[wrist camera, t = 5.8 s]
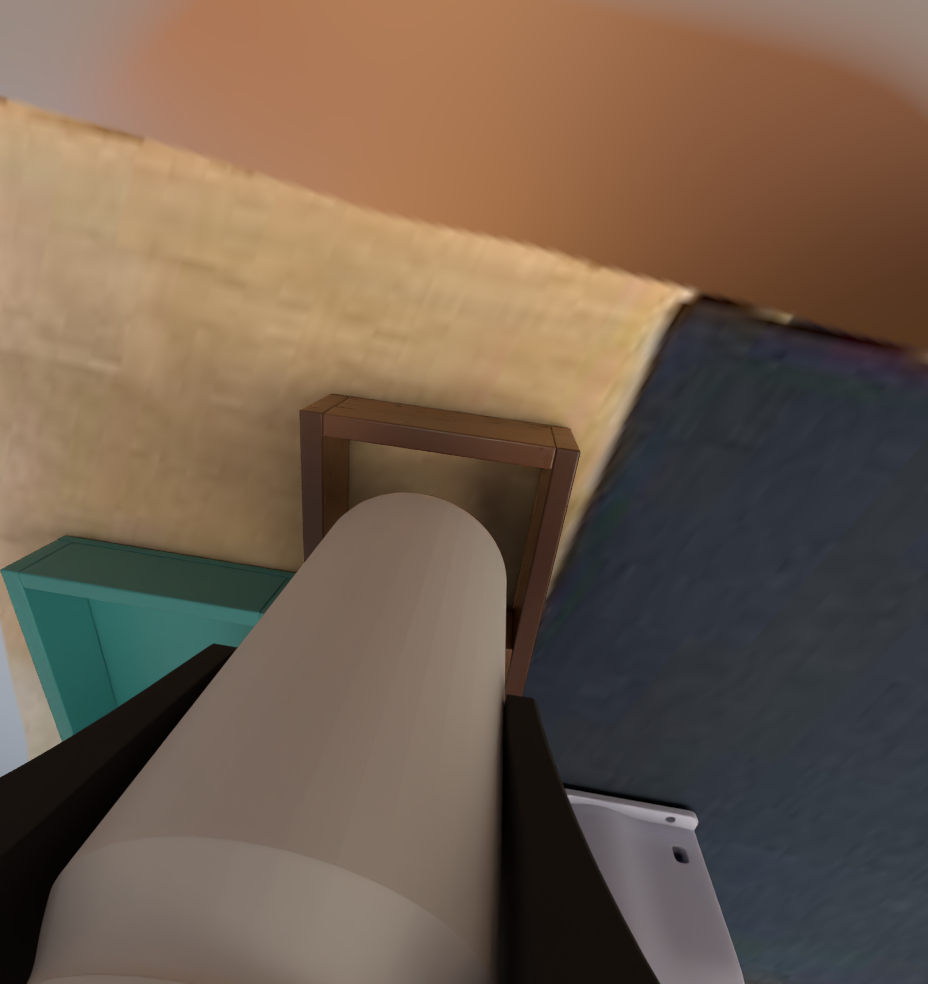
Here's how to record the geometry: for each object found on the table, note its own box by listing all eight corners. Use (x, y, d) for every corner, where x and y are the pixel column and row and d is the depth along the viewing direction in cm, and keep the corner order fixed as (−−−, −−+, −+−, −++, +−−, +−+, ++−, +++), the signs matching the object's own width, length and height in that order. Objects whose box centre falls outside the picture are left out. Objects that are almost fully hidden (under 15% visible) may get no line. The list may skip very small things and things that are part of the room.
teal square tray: (308, 574, 21) (277, 616, 18) (313, 754, 26) (289, 807, 23) (64, 534, 21) (-2, 569, 19) (115, 718, 27) (70, 766, 24)
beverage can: (360, 452, 14) (-118, 929, 4) (539, 529, 15) (613, 1166, 4) (311, 597, 17) (-54, 1134, 6) (465, 659, 17) (384, 1265, 6)
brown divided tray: (571, 428, 17) (581, 451, 14) (499, 747, 24) (497, 800, 22) (330, 393, 17) (298, 409, 15) (330, 717, 25) (309, 765, 22)
